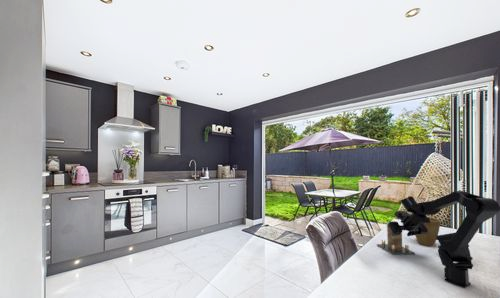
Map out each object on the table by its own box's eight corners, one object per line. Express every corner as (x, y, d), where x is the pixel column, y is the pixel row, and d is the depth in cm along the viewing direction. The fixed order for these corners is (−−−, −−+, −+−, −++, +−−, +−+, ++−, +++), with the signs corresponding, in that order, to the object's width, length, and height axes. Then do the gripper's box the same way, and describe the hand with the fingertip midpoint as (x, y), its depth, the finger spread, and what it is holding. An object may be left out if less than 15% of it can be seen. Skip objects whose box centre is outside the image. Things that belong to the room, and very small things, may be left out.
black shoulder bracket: (478, 265, 103) (458, 232, 109) (447, 267, 113) (431, 236, 120) (481, 263, 104) (461, 231, 111) (450, 265, 114) (434, 236, 121)
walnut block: (402, 249, 122) (401, 226, 123) (393, 249, 122) (393, 226, 123) (395, 246, 127) (395, 224, 128) (387, 246, 127) (387, 224, 128)
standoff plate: (415, 254, 118) (414, 246, 119) (392, 254, 118) (392, 247, 118) (397, 245, 131) (396, 239, 132) (376, 245, 130) (376, 239, 131)
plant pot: (448, 249, 127) (447, 221, 129) (423, 248, 128) (421, 220, 129) (428, 240, 142) (427, 215, 143) (405, 240, 142) (404, 215, 144)
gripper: (422, 206, 118) (406, 222, 128) (389, 206, 117) (376, 222, 127) (436, 225, 110) (418, 240, 119) (401, 225, 108) (386, 240, 118)
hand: (399, 235), depth 121 cm, fingers open, 9 cm apart
